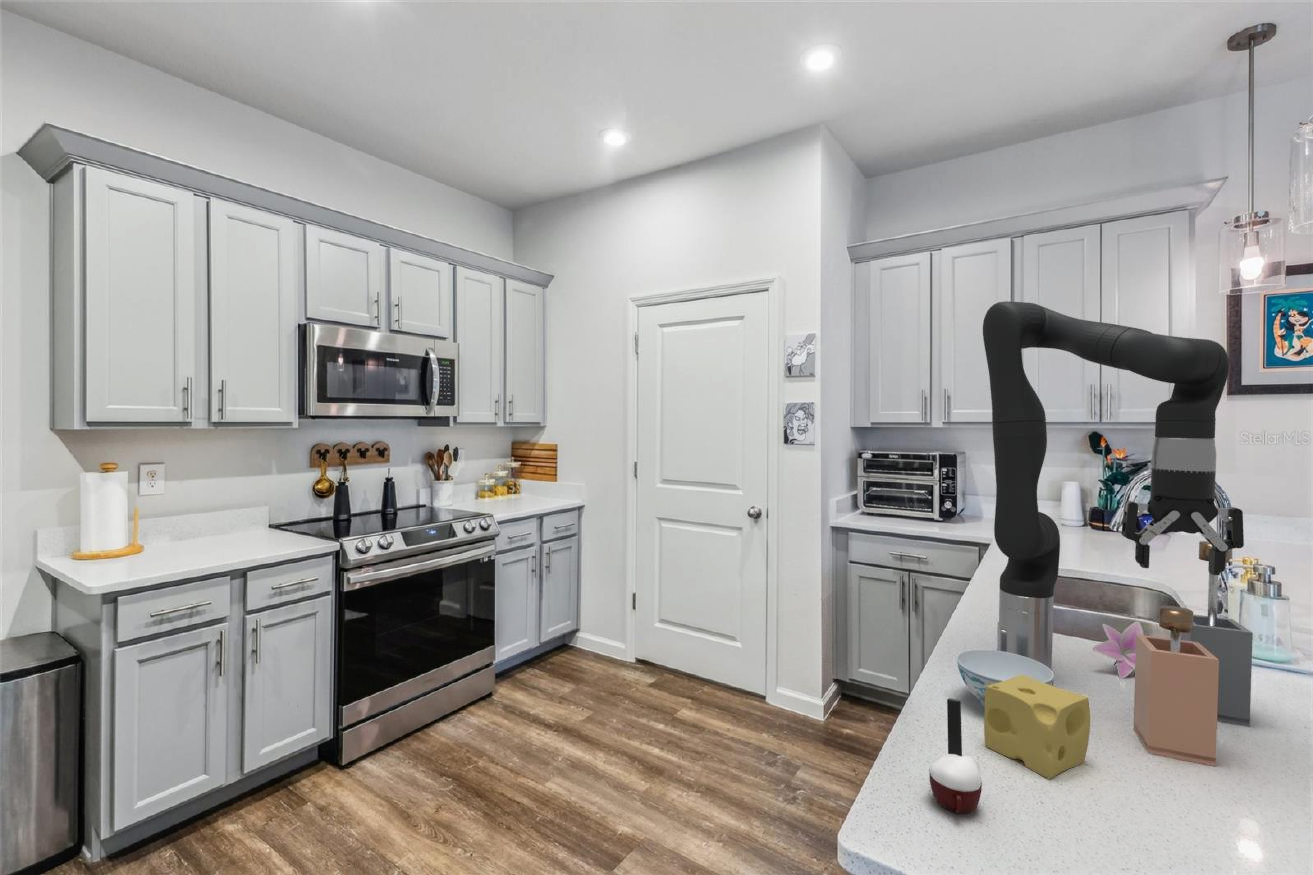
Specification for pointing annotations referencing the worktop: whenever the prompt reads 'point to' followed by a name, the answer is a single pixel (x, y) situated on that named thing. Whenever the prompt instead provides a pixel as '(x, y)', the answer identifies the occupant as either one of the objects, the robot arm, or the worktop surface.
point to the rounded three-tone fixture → (956, 769)
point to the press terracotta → (1176, 699)
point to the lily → (1121, 647)
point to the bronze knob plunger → (1176, 623)
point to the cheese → (1037, 724)
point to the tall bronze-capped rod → (1211, 583)
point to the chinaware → (997, 669)
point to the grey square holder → (1228, 665)
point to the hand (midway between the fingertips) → (1178, 570)
